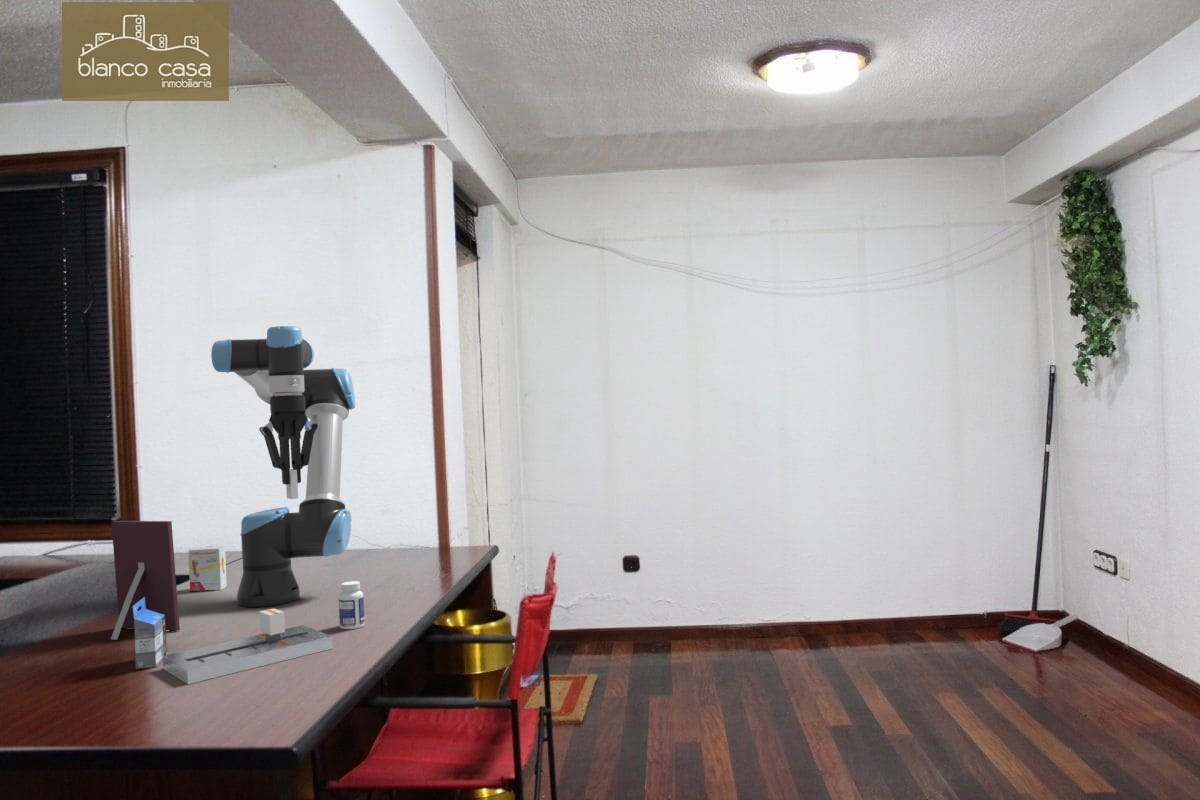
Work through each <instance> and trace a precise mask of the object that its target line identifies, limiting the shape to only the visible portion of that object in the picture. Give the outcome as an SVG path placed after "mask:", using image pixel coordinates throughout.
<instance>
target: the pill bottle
mask: <svg viewBox="0 0 1200 800" xmlns="http://www.w3.org/2000/svg"><path fill="white" fill-rule="evenodd" d="M340 585H341V586H340V588H341V591H342V592H340V593H339V595H338V616H339V618H338V619H339V626H340V629H342V630H354V629H355V630H357V629H359V628H362V627H364V626H365V624H366V623H365V622H366V618H365V598H364V592H363V591H362V590H360V589H361V582H360V581H357V580H352V581H345V582H342V583H341V584H340Z"/></svg>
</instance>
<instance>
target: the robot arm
mask: <svg viewBox="0 0 1200 800" xmlns="http://www.w3.org/2000/svg"><path fill="white" fill-rule="evenodd" d="M302 334H303V333H302V329H301V328H300V327H299V326H296V325H294V326H293V325H286V326H285V325H281V326H280V325H279V326H277V325H276V326H270V327H268V329H267V330H266V338H258V339H257V338H254V339H253V338H252V339H251V338H250V339H230V338H229V339H224V340H216V341H215V342H213V344H212V347H211V364H212V367H213V369H214V371H216V372H218V373H227V374H229V373H235V374H236V375H237V376H238V377H240V378H241V379H242V380H243V381H245V382H246V383H247V384H248V385H250V386H251V387H252V388H253V389H254V391H255V394H256V396H258V398H260V399H261V400H262V401H263V402H264V403H267V404H268V405H270V407H269V409H270V410H269V411H270V417H269V420H268V423H267V424H265V425H264V426H261V427H259V432H260V433H261V435H262V436H263V437H264V440H265V445H266V447H267V451H268V455H269V459H270V461H271V464H272V467H273V468H275V469H279V470H280V471H281V481H282V485H285V486H286V487H285V488H286V489H285V490H286V499H289V500H296V499H299V488H298V487H299V485H298V484H301V482H302V477H301V476H302V474H301V473H302V472H301V471H302V470H303V467H305V466H307V473H306V489H305V491H306V492H305V499H304V500H301V502H300V503H299V505H298V506H299V507H298V512H297V511H296V512H290V509H289V507H287V506H286V507H277V508H272V509H265V510H261V511H256V512H252V513H250V514H247V515H245V516H244V517H243V518H242V519H241V525H240V526H241V528H240V536H241V552H242V553H241V554H242V557H241V558H242V575H241V576H242V577H241V579H240V583H239V586H238V587H239V588H238V590H237V593H236V605H237V606H238V607H245V608H247V607H249V608H251V607H252V608H254V607H255V608H257V607H269V606H277V605H282V604H286V603H290V602H293V601H296V600H298V599H299V598H300V597H301V596H300V592H301V591H300V587H299V584H298V581H297V579H296V576H295V574H294V571H293V568H292V559H298V558H299V559H300V558H314V557H315V558H316V557H325V558H327V557H329V556H336V555H337V556H338V555H340V554H341V555H342V554H343V553H344V552H345V551H346V550H347V548H348V544H349V542H350V537H351V532H352V531H351V530H352V513H351V511H350V510H349V509H346V504H345V503H344V502H343V501H342V500H341V497H340V496H341V495H340V494H341V474H342V473H341V471H342V469H341V468H342V450H343V449H342V448H343V447H342V445H343V428H344V427H343V424H344V422H343V421H344V420H346V419H348V417H349V415H350V412H349V411H350V410H354V409H355V408H356V399H355V398H356V397H355V391H354V385H353V379H352V377H351V374H350V371H349V370H347V369H346V368H334V367H331V368H320V369H318V368H317V369H315V368H314V369H306V368H308V367H309V366H310V365H311V364H312V363H313V361H314V358H315V352H314V348H313V346H312V345H311V343H310V342H308V341H307V340H305V339H304V338H303V335H302ZM308 419H309V420H308ZM273 429H274V430H273ZM303 429H304V430H305V431H304V434H303V438H302V445H301V437H302V436H301V433H302V430H303ZM274 431H275V432H276V433H277V435H278V436H277V439H278V441H279V444H278V445H279V450H278V446H277V442H276V438H275V436H274V433H273V432H274ZM290 455H291V456H290Z"/></svg>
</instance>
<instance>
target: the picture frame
mask: <svg viewBox="0 0 1200 800" xmlns="http://www.w3.org/2000/svg"><path fill="white" fill-rule="evenodd" d="M172 522H173V521H172V520H114V521H113V520H112V521H111V522H110V523H111V535H112V547H113V548H112V549H113V561H114V572H115V585H116V586H115V587H116V597H117V598H116V600H117V610H118V617H117V618H118V619H117V621H116V623H115V627H114V629H113V632H112V634H111V637H110V640H118V639H119V635H120V632H121V631H122V629H121V628H134V615H133V608H132V606H133V605H135V604H136V603H137V602H139V601H140V600H141V599H143V598H144V597H145V606H146V609H148V610H151V611H153V612H157V613H160V614H163V615H165V626H166V630H169V631H177V630H180V616H179V615H180V613H179V605H178V604H179V602H178V601H179V600H178V589H177V588H178V586H177V577H176V576H177V575H176V564H175V563H176V562H175V552H174V551H175V550H174V536H173V525H172ZM139 610H141V607H140V606H139V608H138V611H139ZM177 632H178V631H177Z"/></svg>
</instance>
